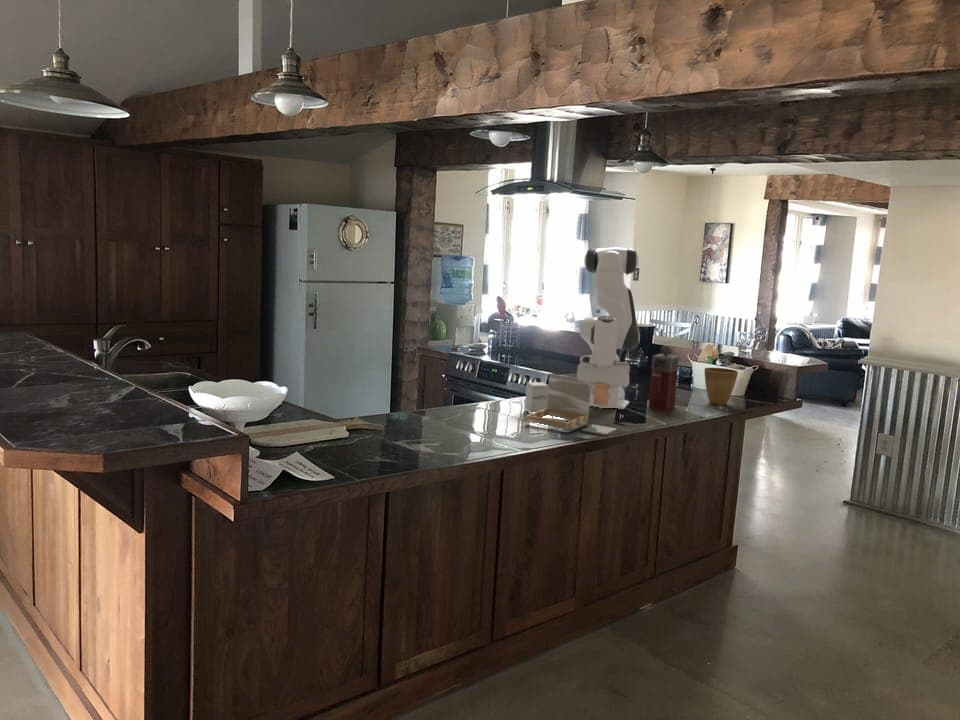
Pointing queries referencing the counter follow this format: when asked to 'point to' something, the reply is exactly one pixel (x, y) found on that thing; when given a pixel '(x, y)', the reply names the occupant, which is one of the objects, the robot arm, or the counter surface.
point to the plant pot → (719, 384)
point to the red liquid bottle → (663, 380)
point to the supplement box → (536, 396)
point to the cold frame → (564, 403)
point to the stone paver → (603, 428)
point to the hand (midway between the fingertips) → (601, 395)
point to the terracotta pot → (601, 394)
